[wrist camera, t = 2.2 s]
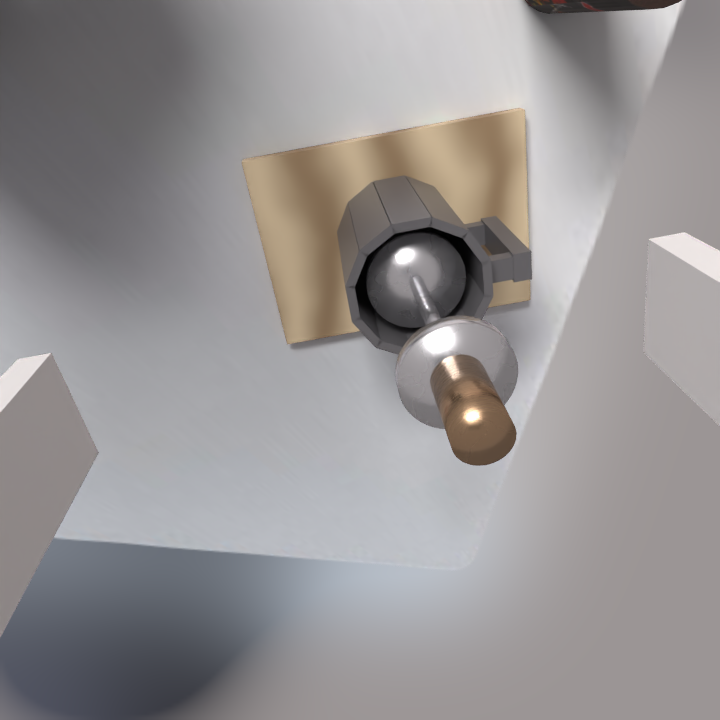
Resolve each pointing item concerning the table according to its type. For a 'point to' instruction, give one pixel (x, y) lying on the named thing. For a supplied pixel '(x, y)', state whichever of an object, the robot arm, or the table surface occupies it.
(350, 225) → the dark grey mug
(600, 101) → the table surface
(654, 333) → the robot arm
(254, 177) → the board
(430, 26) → the table surface
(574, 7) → the deodorant
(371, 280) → the plunger
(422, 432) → the table surface
